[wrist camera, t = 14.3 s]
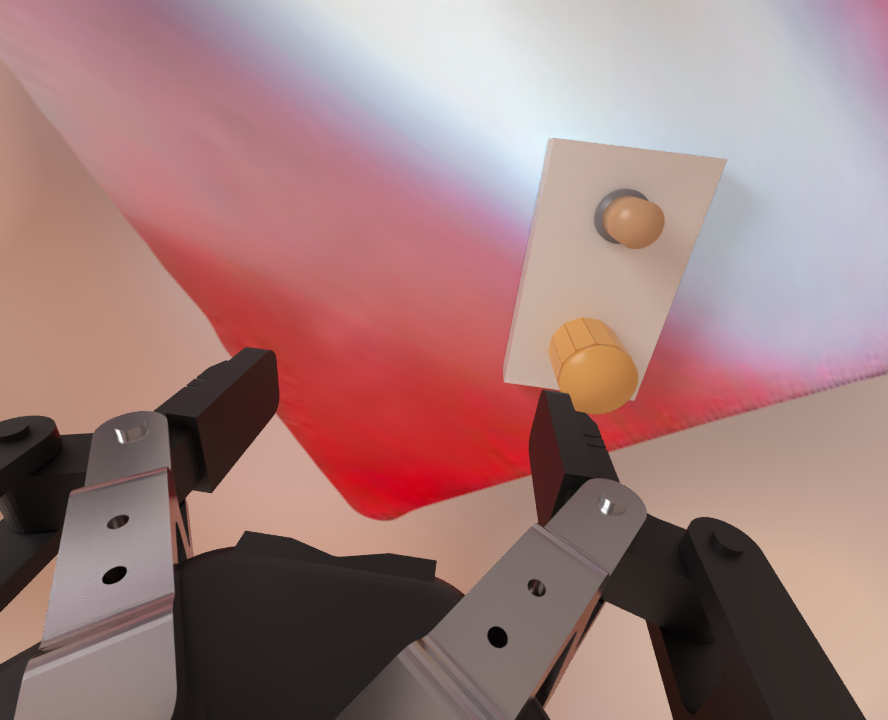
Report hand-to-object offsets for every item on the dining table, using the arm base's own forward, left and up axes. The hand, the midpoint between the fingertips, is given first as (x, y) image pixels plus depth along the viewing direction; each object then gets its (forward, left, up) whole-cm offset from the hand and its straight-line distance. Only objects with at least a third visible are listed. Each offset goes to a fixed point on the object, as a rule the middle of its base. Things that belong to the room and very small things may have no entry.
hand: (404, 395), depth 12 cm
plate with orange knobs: (+2, +12, -26) cm, 29 cm away
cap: (+8, +12, -23) cm, 27 cm away
